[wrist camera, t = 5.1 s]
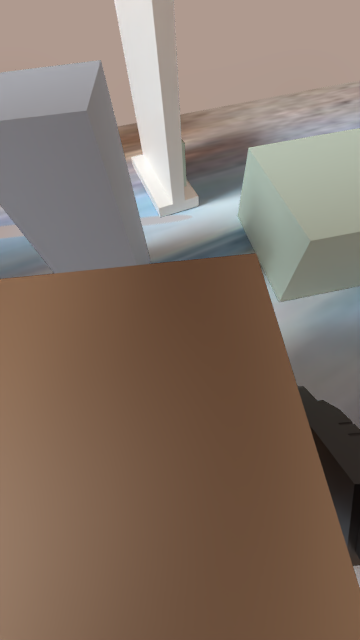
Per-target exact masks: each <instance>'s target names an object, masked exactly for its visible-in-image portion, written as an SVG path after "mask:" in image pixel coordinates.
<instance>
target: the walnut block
mask: <svg viewBox="0 0 360 640" xmlns="http://www.w3.org/2000/svg"><path fill="white" fill-rule="evenodd" d="M0 640H360V588H359V585H358V581H357V578H356V575H355V572H354V568H353V565H352V562H351V559H350V556H349V552H348V549H347V546H346V543H345V539H344V536H343V533H342V530H341V526H340V523H339V520H338V517H337V513H336V510H335V507H334V504H333V500H332V497H331V494H330V491H329V487H328V484H327V481H326V478H325V474H324V471H323V468H322V465H321V462H320V458H319V455H318V452H317V449H316V445H315V442H314V439H313V436H312V432H311V429H310V426H309V423H308V419H307V416H306V413H305V410H304V406H303V403H302V400H301V397H300V393H299V390H298V387H297V384H296V380H295V377H294V374H293V371H292V368H291V364H290V361H289V358H288V355H287V351H286V348H285V345H284V342H283V338H282V335H281V332H280V329H279V325H278V322H277V319H276V316H275V312H274V309H273V306H272V303H271V299H270V296H269V293H268V290H267V286H266V283H265V280H264V277H263V274H262V270H261V267H260V264H259V261H258V257H257V254H256V253H254V254H244V255H234V256H224V257H214V258H204V259H194V260H184V261H174V262H164V263H154V264H144V265H135V266H125V267H115V268H105V269H95V270H85V271H75V272H65V273H55V274H45V275H35V276H25V277H15V278H5V279H0Z"/></svg>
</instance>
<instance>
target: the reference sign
mask: <svg viewBox="0 0 360 640" xmlns="http://www.w3.org/2000/svg"><path fill="white" fill-rule="evenodd" d="M114 2H115V7H116V13H117V18H118V23H119V28H120V34H121V39H122V45H123V50H124V56H125V61H126V66H127V72H128V77H129V83H130V88H131V93H132V98H133V104H134V109H135V115H136V120H137V126H138V131H139V136H140V142H141V147H142V152H143V154H141V155H137V156H134V157H131V159H132V164H133V167H134V169H135V171H136V173H137V175H138V177H139V178H140V180H141V182H142V184H143V186H144V188H145V190H146V192H147V194H148V195H149V197H150V199H151V201H152V203H153V205H154V207H155V209H156V210H157V212H158V214H159V216H160V217H164V216H167V215H171V214H174V213H177V212H180V211H184V210H187V209H190V208H193V207H196V206H199V196H198V195H197V193H196V192H195V191H194V189H193V188H192V186H191V185H190V184H189V182H188V181H187V179H186V165H185V143H184V141H183V140H182V139H181V123H180V105H179V90H178V89H179V88H178V70H177V52H176V36H175V35H176V34H175V17H174V0H114Z"/></svg>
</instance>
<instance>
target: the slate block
mask: <svg viewBox="0 0 360 640" xmlns="http://www.w3.org/2000/svg"><path fill="white" fill-rule="evenodd" d="M0 205H1V207H2V208H3V209H4V210H5V212H6V213H7V214H8V215H9V217H10V218H11V219H12V220H13V222H14V223H15V224H16V226H17V227H18V228H19V229H20V230H21V232H22V233H23V234H24V236H25V237H26V238H27V240H28V241H29V242H30V243H31V245H32V246H33V247H34V248H35V250H36V251H37V252H38V253H39V255H40V256H41V257H42V259H43V260H44V261H45V262H46V264H47V265H48V266H49V267H50V269H51V270H52V271H53V272H54V274H55V273H65V272H75V271H85V270H95V269H105V268H115V267H125V266H135V265H144V264H150V256H149V252H148V248H147V244H146V240H145V236H144V232H143V228H142V225H141V221H140V216H139V212H138V208H137V204H136V200H135V196H134V192H133V188H132V184H131V180H130V176H129V172H128V168H127V164H126V160H125V156H124V152H123V148H122V144H121V139H120V135H119V131H118V127H117V124H116V119H115V115H114V111H113V108H112V103H111V99H110V95H109V91H108V87H107V83H106V80H105V75H104V71H103V67H102V63H101V60H99V61H90V62H82V63H74V64H67V65H58V66H50V67H42V68H34V69H26V70H18V71H10V72H3V73H0Z"/></svg>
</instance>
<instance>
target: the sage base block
mask: <svg viewBox="0 0 360 640" xmlns="http://www.w3.org/2000/svg"><path fill="white" fill-rule="evenodd" d="M238 218H239V220H240V222H241V224H242V226H243V228H244V230H245V232H246V235H247V237H248V239H249V241H250V243H251V245H252V247H253V249H254V251H255V253H256V254H257V257H258V260H259V262H260V264H261V266H262V268H263V270H264V272H265V274H266V276H267V278H268V280H269V283H270V285H271V287H272V289H273V291H274V293H275V295H276V297H277V299H278V301H279V302H282V301H287V300H292V299H297V298H302V297H307V296H312V295H317V294H322V293H327V292H332V291H337V290H342V289H347V288H352V287H357V286H360V128H358V129H352V130H346V131H341V132H335V133H329V134H324V135H318V136H312V137H306V138H301V139H295V140H289V141H284V142H278V143H272V144H267V145H261V146H255V147H249V148H248V154H247V160H246V167H245V173H244V179H243V185H242V192H241V198H240V204H239V210H238Z"/></svg>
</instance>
